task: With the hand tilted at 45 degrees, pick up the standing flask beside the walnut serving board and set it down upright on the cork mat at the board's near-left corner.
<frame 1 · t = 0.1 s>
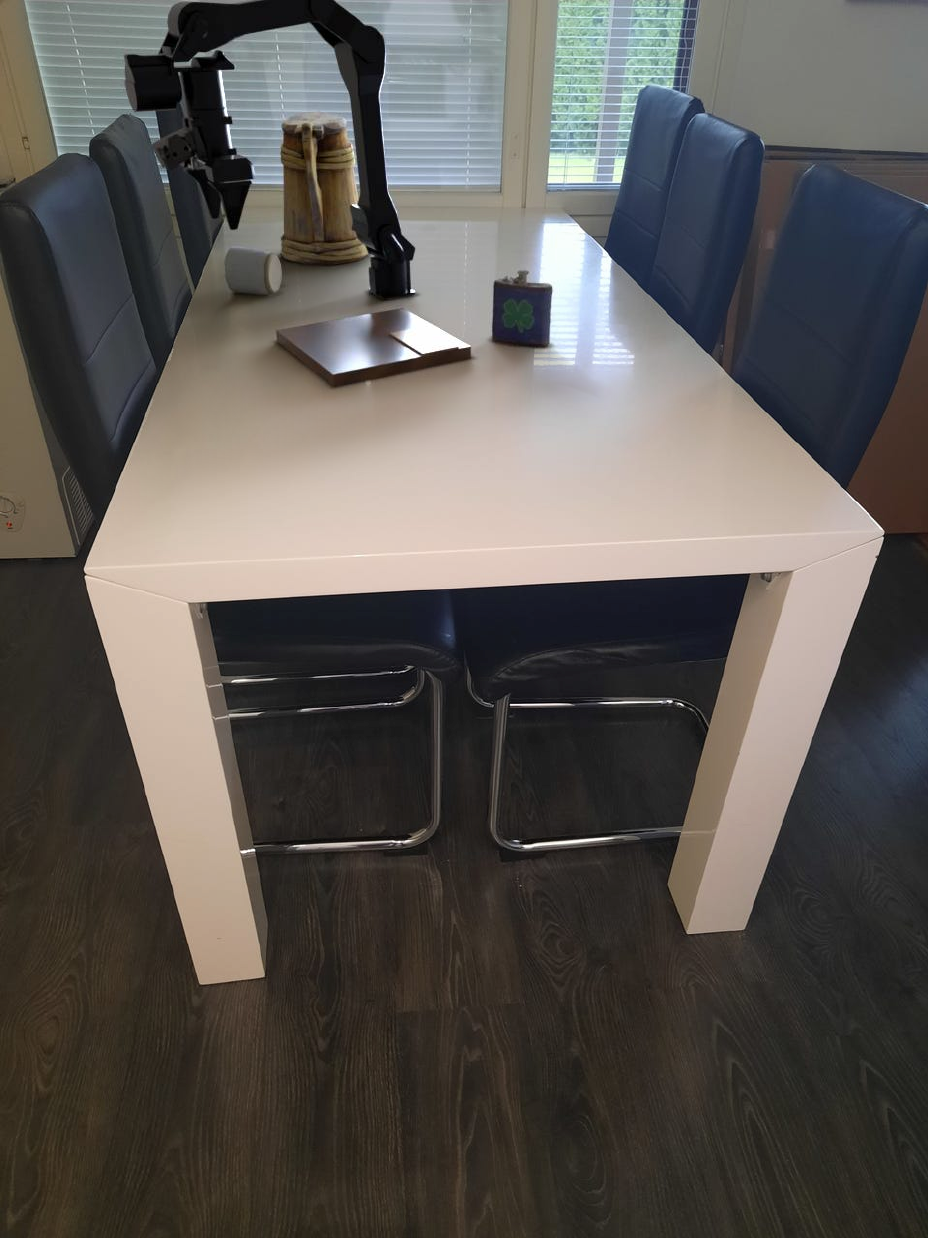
hand: (224, 223, 133), 15 cm above the table, tool pointing down, fingers open, 9 cm apart
serving board: (371, 349, 130), on the table
flask: (519, 343, 132), on the table
ceramic mug: (258, 292, 155), on the table
tankard: (325, 258, 174), on the table
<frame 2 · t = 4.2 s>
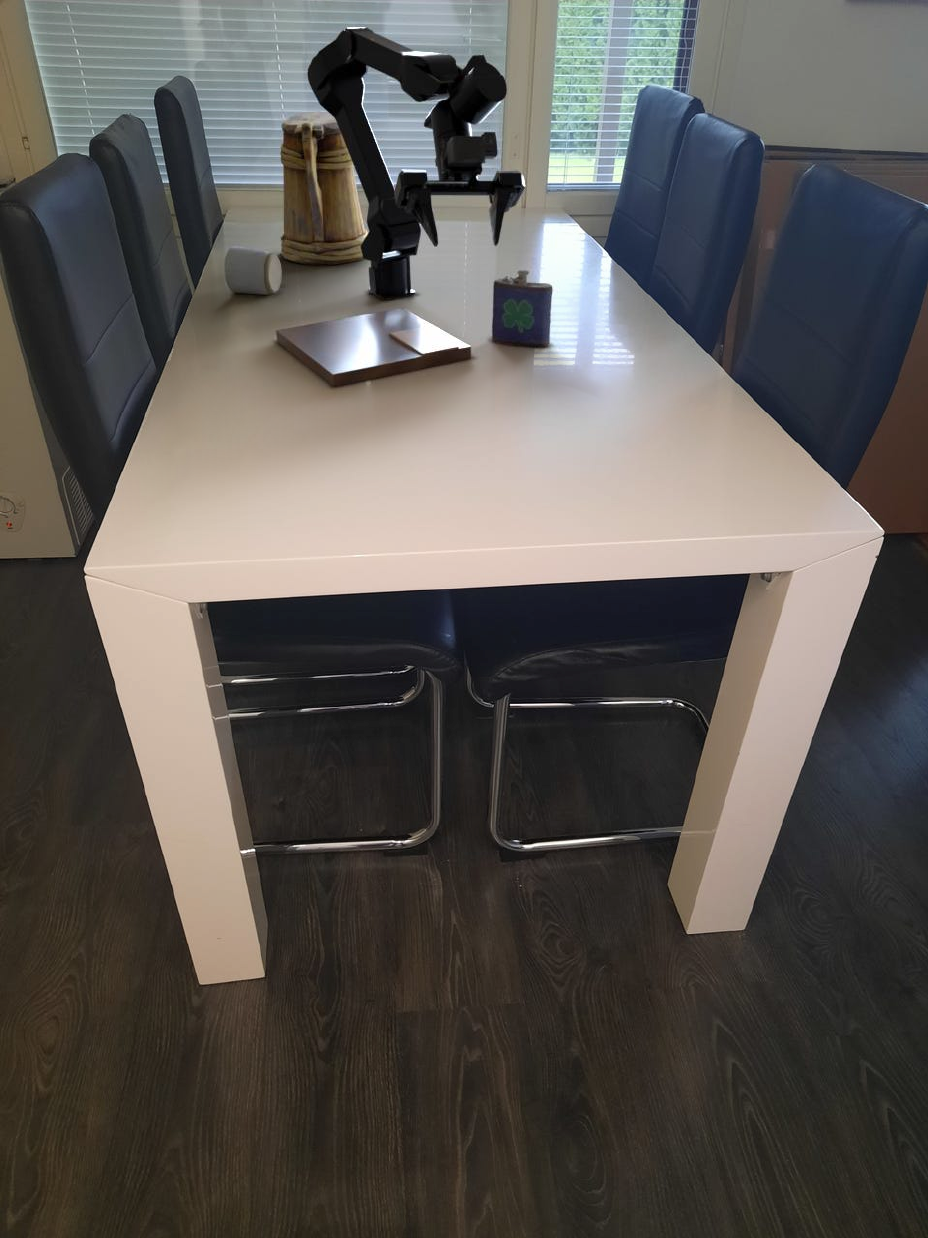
hand: (466, 244, 126), 14 cm above the table, tool tilted 40°, fingers open, 9 cm apart
nothing on the table moved.
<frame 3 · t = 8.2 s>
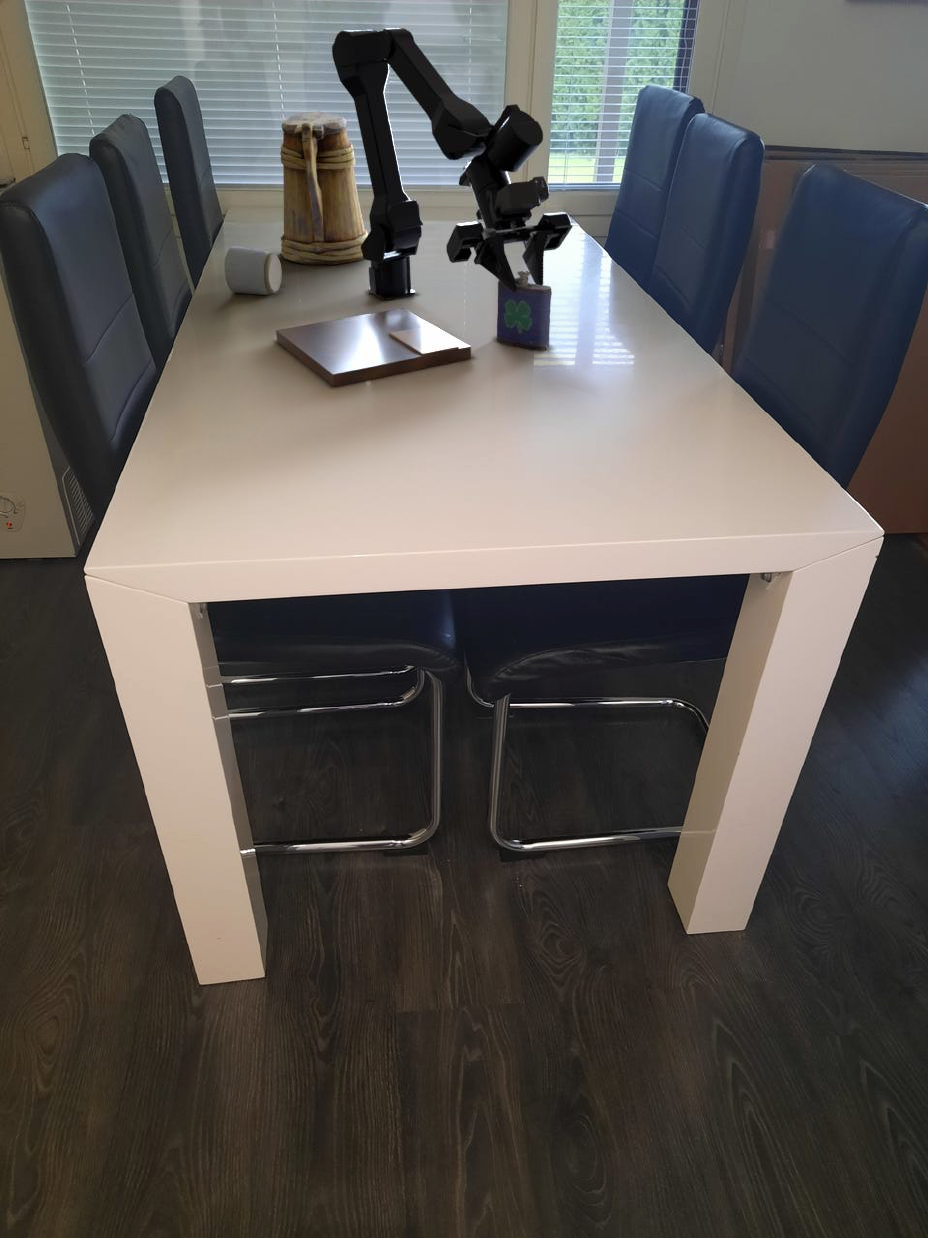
hand: (527, 288, 126), 9 cm above the table, tool tilted 45°, fingers closed on flask, 4 cm apart
flask: (521, 344, 132), on the table, touching gripper
everything else where it was.
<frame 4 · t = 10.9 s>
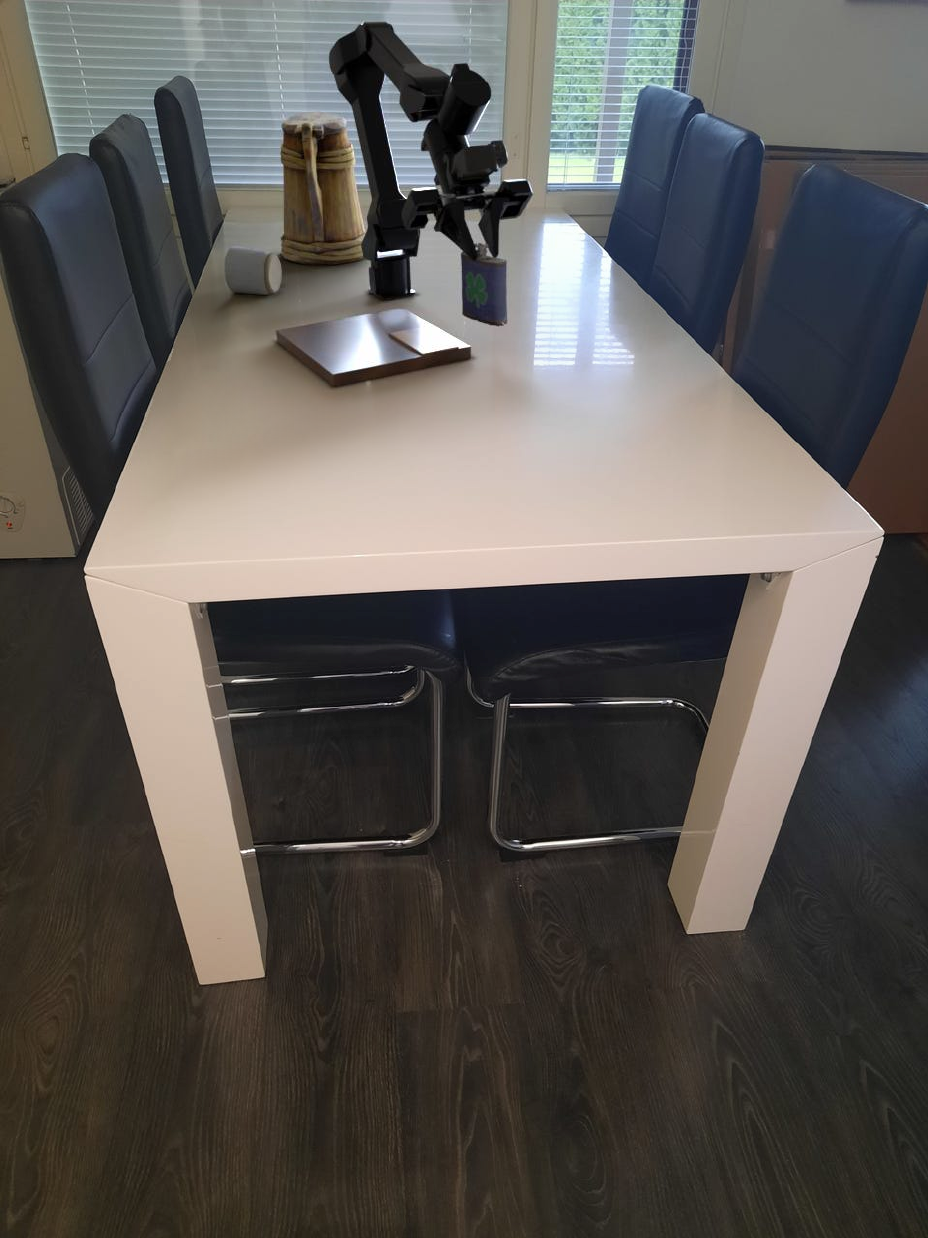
hand: (485, 257, 122), 13 cm above the table, tool tilted 45°, fingers closed on flask, 3 cm apart
flask: (483, 320, 128), point 4 cm above the table, touching gripper
everything else where it was.
when the fingers open (11 cm above the table, at t = 13.8 s): flask stays where it is, resting on serving board.
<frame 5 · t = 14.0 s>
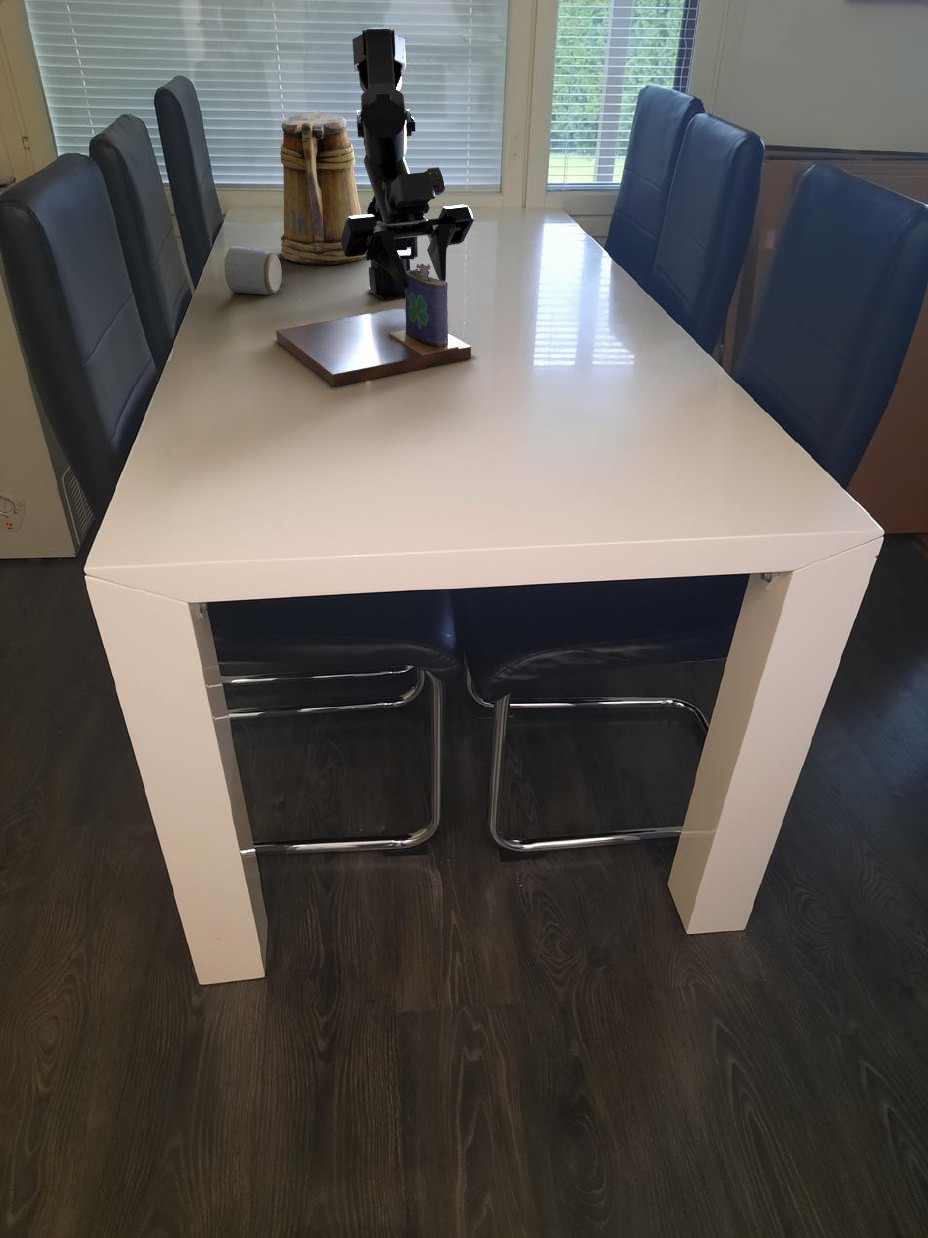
hand: (425, 284, 121), 10 cm above the table, tool tilted 45°, fingers open, 5 cm apart
flask: (425, 341, 127), point 2 cm above the table, touching serving board
everything else where it was.
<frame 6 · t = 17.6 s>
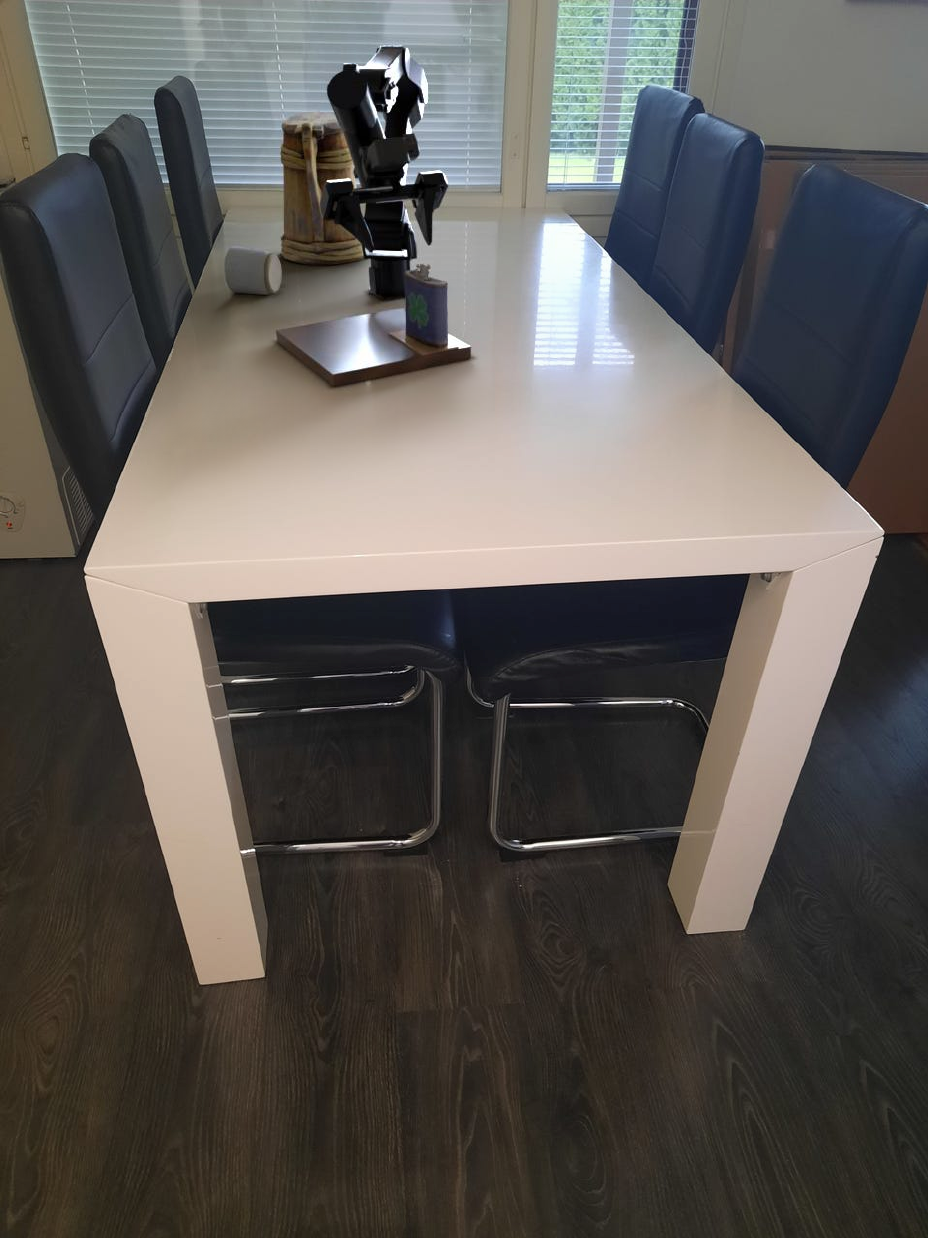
hand: (401, 247, 126), 14 cm above the table, tool tilted 45°, fingers open, 9 cm apart
nothing on the table moved.
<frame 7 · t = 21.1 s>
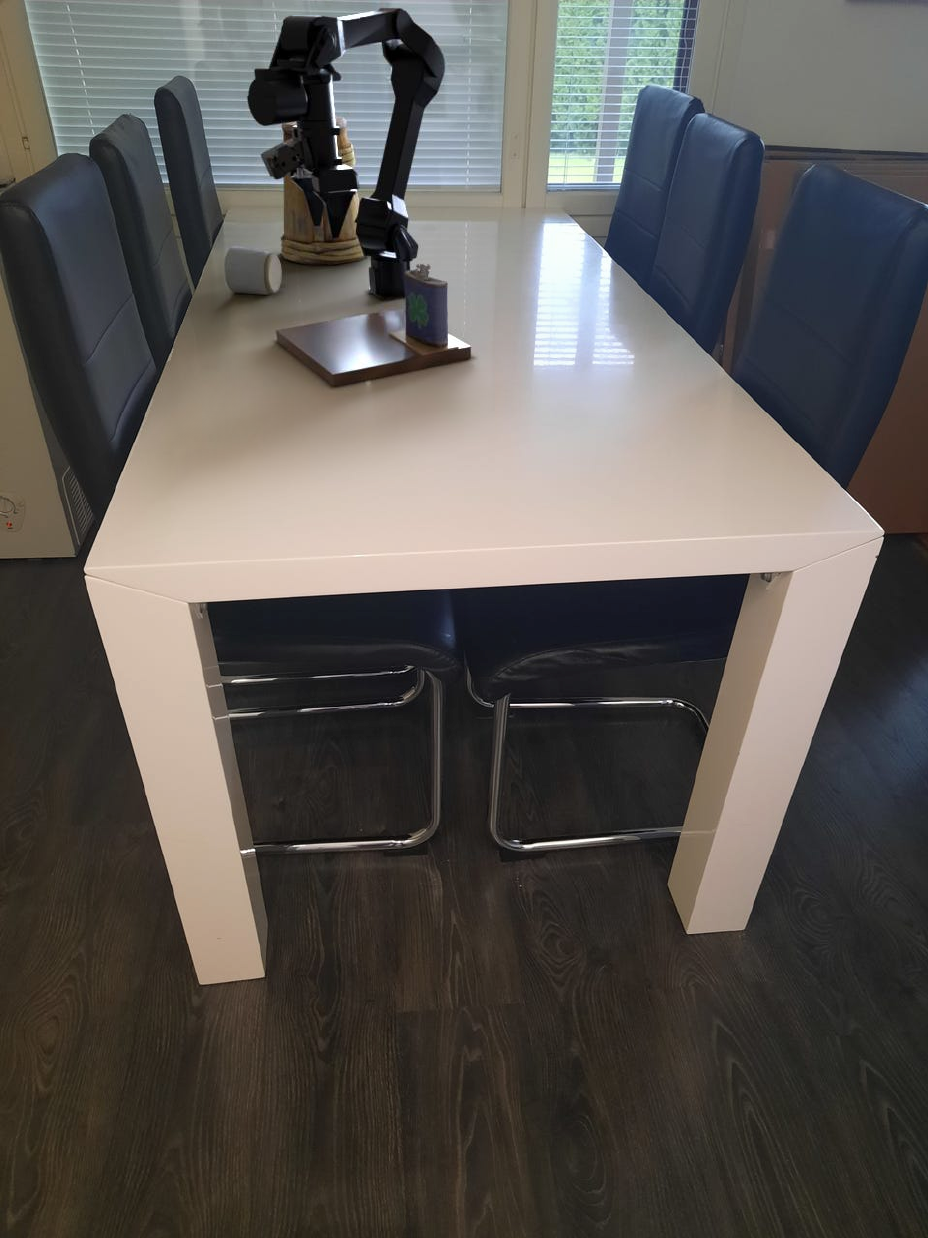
hand: (325, 231, 136), 13 cm above the table, tool pointing down, fingers open, 9 cm apart
nothing on the table moved.
at the end: flask inside the target area on the serving board (1.2 cm from its centre), point 1.9 cm above the serving board's base; flask tilted 0°; the gripper is holding nothing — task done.
